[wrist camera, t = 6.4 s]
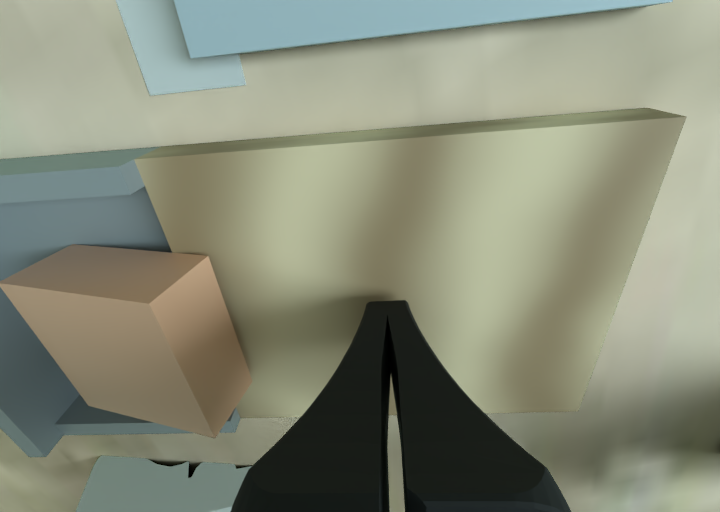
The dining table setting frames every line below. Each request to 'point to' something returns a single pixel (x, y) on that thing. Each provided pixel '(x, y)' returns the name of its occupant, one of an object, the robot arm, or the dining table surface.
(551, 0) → the pale blue flat panel
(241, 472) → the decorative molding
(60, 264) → the tile
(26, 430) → the tray
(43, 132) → the dining table surface
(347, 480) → the robot arm
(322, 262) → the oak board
